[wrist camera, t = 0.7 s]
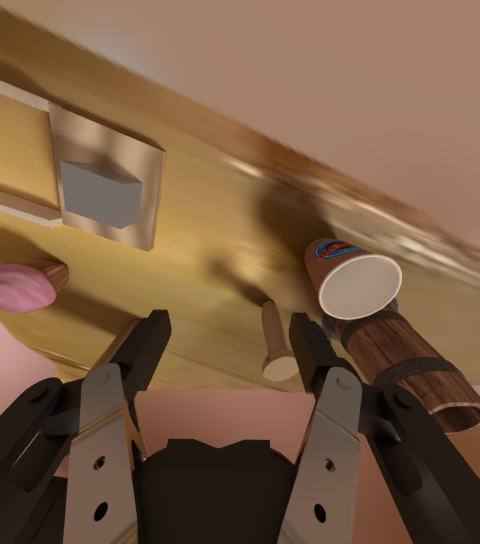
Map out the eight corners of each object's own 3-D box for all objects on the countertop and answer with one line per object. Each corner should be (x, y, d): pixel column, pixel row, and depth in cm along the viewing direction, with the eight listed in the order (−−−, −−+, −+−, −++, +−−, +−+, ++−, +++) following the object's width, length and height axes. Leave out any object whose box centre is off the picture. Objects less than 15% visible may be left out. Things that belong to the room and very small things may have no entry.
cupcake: (78, 257, 34) (21, 285, 25) (84, 292, 38) (36, 326, 29) (28, 245, 33) (-51, 269, 24) (39, 282, 37) (-24, 314, 28)
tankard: (349, 278, 36) (454, 376, 18) (415, 299, 38) (563, 404, 20) (296, 349, 46) (329, 453, 29) (350, 362, 49) (410, 465, 31)
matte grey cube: (142, 183, 26) (122, 184, 21) (139, 221, 28) (120, 229, 24) (92, 163, 24) (59, 160, 20) (93, 205, 27) (65, 210, 23)
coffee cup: (352, 222, 30) (412, 246, 20) (347, 272, 35) (393, 314, 24) (293, 234, 31) (319, 263, 21) (296, 281, 36) (318, 324, 26)
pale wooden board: (166, 152, 25) (161, 150, 24) (153, 247, 33) (148, 251, 31) (62, 107, 23) (47, 102, 21) (72, 221, 30) (62, 223, 29)
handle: (251, 309, 40) (256, 375, 27) (268, 290, 37) (282, 352, 24) (268, 318, 41) (281, 384, 28) (285, 300, 38) (308, 364, 25)
